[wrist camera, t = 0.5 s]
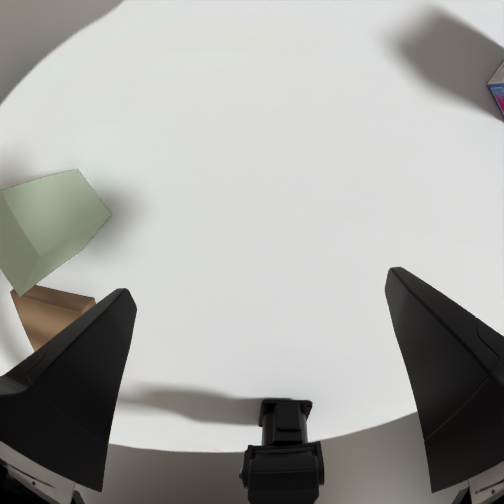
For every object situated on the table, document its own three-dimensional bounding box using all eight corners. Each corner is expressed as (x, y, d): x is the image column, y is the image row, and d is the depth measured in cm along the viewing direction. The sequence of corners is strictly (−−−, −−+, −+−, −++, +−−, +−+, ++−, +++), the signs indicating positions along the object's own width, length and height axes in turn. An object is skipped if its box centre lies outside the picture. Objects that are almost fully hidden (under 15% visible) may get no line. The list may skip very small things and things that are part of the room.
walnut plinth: (120, 380, 32) (112, 395, 29) (52, 357, 32) (43, 368, 30) (94, 298, 26) (80, 312, 24) (23, 281, 27) (10, 292, 24)
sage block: (112, 214, 23) (40, 256, 13) (82, 250, 24) (20, 297, 15) (78, 168, 21) (0, 190, 12) (51, 208, 23) (-16, 240, 14)
